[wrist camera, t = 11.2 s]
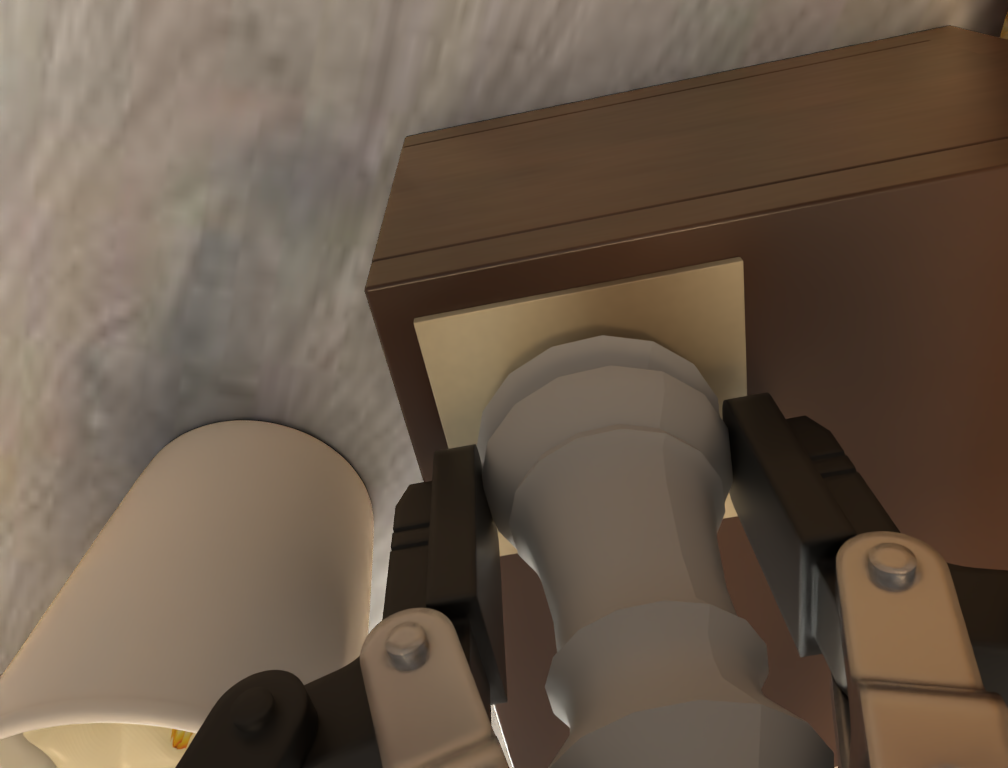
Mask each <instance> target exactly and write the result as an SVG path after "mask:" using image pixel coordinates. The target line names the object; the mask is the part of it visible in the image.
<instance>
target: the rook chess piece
mask: <svg viewBox="0 0 1008 768" xmlns="http://www.w3.org/2000/svg"><path fill="white" fill-rule="evenodd" d="M477 448H478V452H479V455H480V459H481V463H482V467H483V470H482V481H483V488H484V492H485V495H486V498H487V502H488V505H489V508H490V512H491V515H492V518H493V521H494V523H495V525H496V527H497V529H498V531H499V532H500V533H501V534H502V535H503V536H504V537H505V538H506V539H507V540H508V541H509V542H510V543H511V544H512V545H513V546H514V547H515V548H516V549H517V552H518V555H519V556H520V557H521V558H522V559H523V560H524V561H525V562H526V563H527V564H528V565H529V566H530V567H531V568H532V569H533V570H534V571H535V572H536V573H537V574H538V576H539V578H540V580H541V582H542V585H543V588H544V592H545V595H546V599H547V602H548V605H549V609H550V612H551V616H552V619H553V623H554V631H555V639H556V648H557V653H556V654H555V656H554V657H553V659H552V663H551V666H550V670H549V673H548V677H547V681H546V684H545V689H546V692H547V695H548V698H549V701H550V704H551V707H552V710H553V713H554V714H555V715H556V716H557V717H558V718H559V719H560V720H562V721H563V722H564V723H565V724H566V725H567V726H568V727H570V736H569V737H568V739H567V740H566V742H565V743H564V745H563V746H562V748H561V749H560V751H559V752H558V754H557V755H556V757H555V758H554V760H553V761H552V763H551V764H550V766H549V767H548V768H834V752H833V751H832V750H831V749H830V748H829V746H828V745H827V744H826V743H825V742H824V741H823V739H822V738H821V737H820V736H819V735H818V734H817V732H816V731H815V730H814V729H813V728H812V727H811V725H810V724H809V723H807V722H806V721H804V720H802V719H801V718H799V717H797V716H796V715H794V714H792V713H791V712H789V711H787V710H786V709H784V708H782V707H781V706H779V705H777V704H776V703H774V702H772V701H771V700H769V699H767V698H766V697H765V696H764V694H763V693H762V691H761V688H762V686H763V684H764V682H765V680H766V678H767V676H768V674H769V667H768V656H767V645H766V643H765V642H764V641H763V640H762V639H761V637H760V636H759V635H758V634H757V633H756V631H755V630H754V629H753V628H752V627H751V625H750V624H749V623H748V622H747V620H745V619H743V618H740V617H738V616H737V614H736V611H735V609H734V606H733V603H732V601H731V598H730V595H729V593H728V590H727V587H726V582H725V577H724V572H723V567H722V562H721V557H720V551H719V546H718V541H717V532H718V530H719V527H720V525H721V522H722V519H723V517H724V514H725V501H726V498H727V496H728V493H729V491H730V488H731V486H732V483H733V471H732V461H731V451H730V440H729V430H728V427H727V426H726V424H725V423H724V422H723V420H722V419H721V417H720V412H719V404H718V398H717V396H716V395H715V394H714V392H713V391H712V389H711V388H710V386H709V385H708V383H707V382H706V381H705V379H704V378H703V376H702V375H701V373H700V372H699V371H698V369H697V368H696V366H695V365H694V364H693V363H691V362H689V361H688V360H686V359H684V358H682V357H680V356H679V355H677V354H675V353H673V352H671V351H670V350H668V349H666V348H664V347H662V346H661V345H659V344H657V343H655V342H654V341H646V340H638V339H630V338H622V337H613V336H605V335H601V336H597V337H592V338H588V339H584V340H579V341H575V342H571V343H566V344H562V345H558V346H553V347H550V348H549V349H547V350H546V351H544V352H543V353H541V354H540V355H538V356H536V357H535V358H533V359H532V360H530V361H529V362H527V363H526V364H524V365H522V366H521V367H519V368H518V369H516V370H515V371H513V372H512V373H510V374H509V375H508V376H507V378H506V379H505V380H504V382H503V383H502V385H501V386H500V388H499V389H498V390H497V392H496V393H495V395H494V396H493V397H492V399H491V400H490V402H489V403H488V405H487V406H486V407H485V409H484V410H483V412H482V418H481V424H480V430H479V436H478V441H477Z"/></svg>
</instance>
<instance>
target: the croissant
mask: <svg viewBox="0 0 1008 768" xmlns="http://www.w3.org/2000/svg"><path fill="white" fill-rule="evenodd" d="M1000 38H1003V39H1007V40H1008V12H1007V15H1006V17H1005V21H1004V24H1003V28H1002V31H1001V35H1000Z"/></svg>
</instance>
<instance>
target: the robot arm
mask: <svg viewBox="0 0 1008 768" xmlns="http://www.w3.org/2000/svg"><path fill="white" fill-rule="evenodd" d="M722 416H723V422H724V423H725V424H726V426H727V427H728V430H729V440H730V451H731V461H732V471H733V483H732V486H731V488H730V491H729V494H730V497H731V500H732V503H733V506H734V508H735V510H736V513H737V515H738V517H739V520H740V522H741V524H742V526H743V529H744V531H745V533H746V535H747V538H748V540H749V542H750V544H751V547H752V549H753V551H754V553H755V556H756V558H757V560H758V562H759V565H760V567H761V569H762V571H763V574H764V576H765V578H766V580H767V583H768V585H769V587H770V589H771V592H772V594H773V596H774V598H775V601H776V603H777V605H778V607H779V610H780V612H781V614H782V616H783V619H784V621H785V623H786V625H787V628H788V630H789V632H790V634H791V637H792V639H793V641H794V643H795V646H796V648H797V650H798V652H799V655H800V657H805V656H812V655H818V654H823V656H824V658H825V660H826V662H827V664H828V666H829V669H830V671H831V676H830V696H831V705H832V714H833V724H834V733H835V742H836V752H837V761H838V768H1008V570H997V569H984V568H973V567H965V566H959V565H955V564H950V563H947V562H946V561H945V560H944V558H943V557H942V556H941V555H940V554H939V553H938V552H937V551H936V550H935V549H934V548H932V547H931V546H930V545H928V544H927V543H925V542H923V541H921V540H919V539H917V538H914V537H912V536H909V535H905V534H902V533H901V532H900V531H899V529H898V528H897V527H896V525H895V524H894V522H893V521H892V519H891V518H890V516H889V515H888V514H887V512H886V511H885V509H884V508H883V506H882V505H881V503H880V502H879V501H878V499H877V498H876V496H875V495H874V493H873V492H872V490H871V489H870V488H869V486H868V485H867V483H866V482H865V480H864V479H863V477H862V476H861V475H860V473H859V472H857V471H856V467H855V466H854V464H853V463H852V462H851V460H850V459H849V457H848V456H847V455H846V456H845V453H844V450H843V449H842V447H841V446H840V444H839V443H838V441H837V440H836V438H835V437H834V436H833V434H832V433H831V431H830V430H828V429H826V428H825V427H823V426H822V425H820V424H818V423H817V422H815V421H814V420H812V419H810V418H809V417H807V416H806V415H805V416H799V417H794V418H788V419H785V417H784V415H783V414H782V412H781V411H780V409H779V407H778V406H777V404H776V402H775V401H774V399H773V398H772V396H771V395H770V394H769V393H768V392H766V393H760V394H755V395H749V396H744V397H738V398H732V399H727V400H724V401H723V405H722ZM482 470H483V467H482V463H481V459H480V455H479V452H478V448H477V446H476V444H472V445H467V446H461V447H455V448H450V449H444V450H439V451H435V452H434V457H433V474H432V481H428V482H422V483H417V484H411V485H409V486H408V488H407V490H406V491H405V493H404V494H403V496H402V497H401V499H400V500H399V502H398V504H397V505H396V508H395V516H394V525H393V530H394V533H393V534H392V542H391V549H392V551H391V552H390V560H389V569H388V577H387V586H386V595H385V603H384V612H383V619H382V621H381V622H380V623H379V624H377V625H376V626H375V627H374V628H373V629H372V631H371V632H370V633H369V634H368V636H367V637H366V639H365V641H364V643H363V645H362V648H361V651H360V656H359V657H358V658H356V659H355V660H354V661H352V662H351V663H349V664H348V665H346V666H344V667H342V668H340V669H339V670H336V671H334V672H332V673H330V674H328V675H325V676H323V677H321V678H319V679H317V680H314V681H312V682H310V683H308V684H306V685H303V683H302V681H301V680H300V679H299V678H298V677H297V676H295V675H294V674H292V673H290V672H288V671H283V670H267V671H262V672H259V673H255V674H253V675H251V676H248V677H246V678H244V679H243V680H241V681H239V682H238V683H236V684H235V685H233V686H232V687H231V688H230V689H229V690H227V691H226V692H225V693H224V694H223V695H222V696H221V697H220V699H219V700H218V701H217V702H216V704H215V705H214V707H213V708H212V710H211V711H210V713H209V714H208V716H207V718H206V719H205V721H204V722H203V724H202V726H201V727H200V729H199V730H198V732H197V734H196V735H195V737H194V738H193V740H192V742H191V743H190V745H189V747H188V748H187V750H186V751H185V753H184V755H183V756H182V758H181V759H180V761H179V763H178V764H177V766H176V767H175V768H509V766H508V763H507V761H506V758H505V756H504V753H503V750H502V748H501V745H500V743H499V740H498V738H497V736H495V734H494V731H493V729H492V726H491V705H494V704H500V703H507V702H508V699H507V681H506V662H505V644H504V625H503V607H502V588H501V570H500V551H499V538H498V531H497V527H496V525H495V523H494V521H493V518H492V515H491V512H490V508H489V505H488V502H487V498H486V495H485V492H484V488H483V481H482Z"/></svg>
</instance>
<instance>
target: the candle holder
mask: <svg viewBox="0 0 1008 768" xmlns="http://www.w3.org/2000/svg"><path fill="white" fill-rule="evenodd" d="M373 539H374V520H373V510H372V505H371V501H370V498H369V495H368V492H367V490H366V488H365V486H364V484H363V482H362V480H361V479H360V477H359V476H358V474H357V473H356V471H355V470H354V469H353V468H352V466H351V465H350V464H349V463H348V462H347V461H346V460H345V459H344V458H343V457H342V456H341V455H340V454H338V453H337V452H336V451H335V450H333V449H332V448H331V447H329V446H328V445H326V444H325V443H323V442H321V441H320V440H318V439H316V438H314V437H312V436H310V435H308V434H306V433H304V432H301V431H299V430H296V429H293V428H290V427H287V426H283V425H279V424H274V423H269V422H262V421H250V420H237V421H225V422H218V423H213V424H209V425H205V426H202V427H199V428H196V429H194V430H191V431H189V432H187V433H185V434H183V435H181V436H179V437H178V438H176V439H175V440H173V441H172V442H170V443H169V444H168V445H166V446H165V447H164V448H163V449H162V450H161V451H160V452H159V453H158V454H157V455H156V456H155V457H154V458H153V459H152V460H151V462H150V463H149V464H148V465H147V467H146V468H145V469H144V471H143V472H142V473H141V475H140V476H139V477H138V479H137V480H136V482H135V483H134V484H133V486H132V487H131V489H130V490H129V491H128V493H127V494H126V496H125V497H124V499H123V500H122V501H121V503H120V504H119V506H118V507H117V509H116V510H115V512H114V513H113V514H112V516H111V517H110V519H109V520H108V522H107V523H106V525H105V526H104V527H103V529H102V530H101V532H100V533H99V535H98V536H97V538H96V539H95V540H94V542H93V543H92V545H91V546H90V548H89V549H88V551H87V552H86V554H85V555H84V556H83V558H82V559H81V561H80V562H79V564H78V565H77V567H76V568H75V570H74V571H73V572H72V574H71V575H70V577H69V578H68V580H67V581H66V583H65V584H64V586H63V587H62V588H61V590H60V591H59V593H58V594H57V596H56V597H55V599H54V600H53V602H52V603H51V604H50V606H49V607H48V609H47V610H46V612H45V613H44V615H43V616H42V618H41V619H40V620H39V622H38V623H37V625H36V626H35V628H34V629H33V631H32V632H31V634H30V635H29V636H28V638H27V639H26V641H25V642H24V644H23V645H22V647H21V648H20V650H19V651H18V652H17V654H16V655H15V657H14V658H13V660H12V661H11V663H10V664H9V666H8V667H7V668H6V670H5V671H4V673H3V674H2V676H1V677H0V768H175V767H176V766H177V764H178V763H179V761H180V759H181V758H182V756H183V755H184V753H185V751H186V750H187V748H188V747H189V745H190V743H191V742H192V740H193V738H194V737H195V735H196V734H197V732H198V730H199V729H200V727H201V726H202V724H203V722H204V721H205V719H206V718H207V716H208V714H209V713H210V711H211V710H212V708H213V707H214V705H215V704H216V702H217V701H218V700H219V699H220V697H221V696H222V695H223V694H224V693H225V692H226V691H227V690H229V689H230V688H231V687H232V686H233V685H235V684H236V683H238V682H239V681H241V680H243V679H244V678H246V677H248V676H251V675H253V674H255V673H259V672H262V671H267V670H283V671H288V672H290V673H292V674H294V675H295V676H297V677H298V678H299V679H300V680H301V681H302V683H303V685H306V684H308V683H310V682H312V681H314V680H317V679H319V678H321V677H323V676H325V675H328V674H330V673H332V672H334V671H336V670H339V669H340V668H342V667H344V666H346V665H348V664H349V663H351V662H352V661H354V660H355V659H356V658H358V657H359V656H360V651H361V648H362V645H363V643H364V641H365V639H366V637H367V636H368V628H369V612H370V596H371V579H372V561H373Z"/></svg>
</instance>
